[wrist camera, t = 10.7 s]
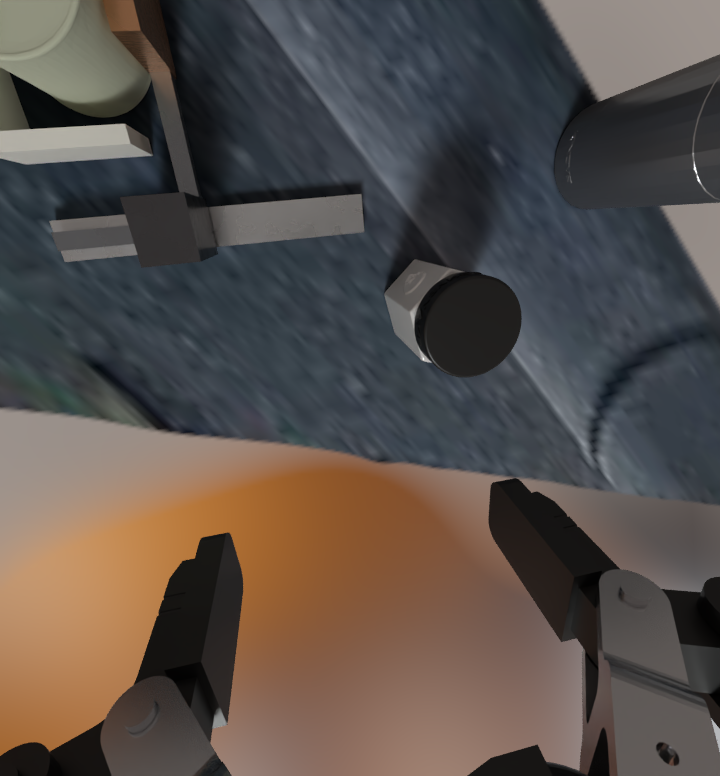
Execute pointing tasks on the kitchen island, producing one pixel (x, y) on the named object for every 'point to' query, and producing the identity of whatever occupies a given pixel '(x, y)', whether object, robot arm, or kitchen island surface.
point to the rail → (244, 223)
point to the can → (71, 55)
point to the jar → (454, 317)
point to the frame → (60, 136)
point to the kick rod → (187, 207)
